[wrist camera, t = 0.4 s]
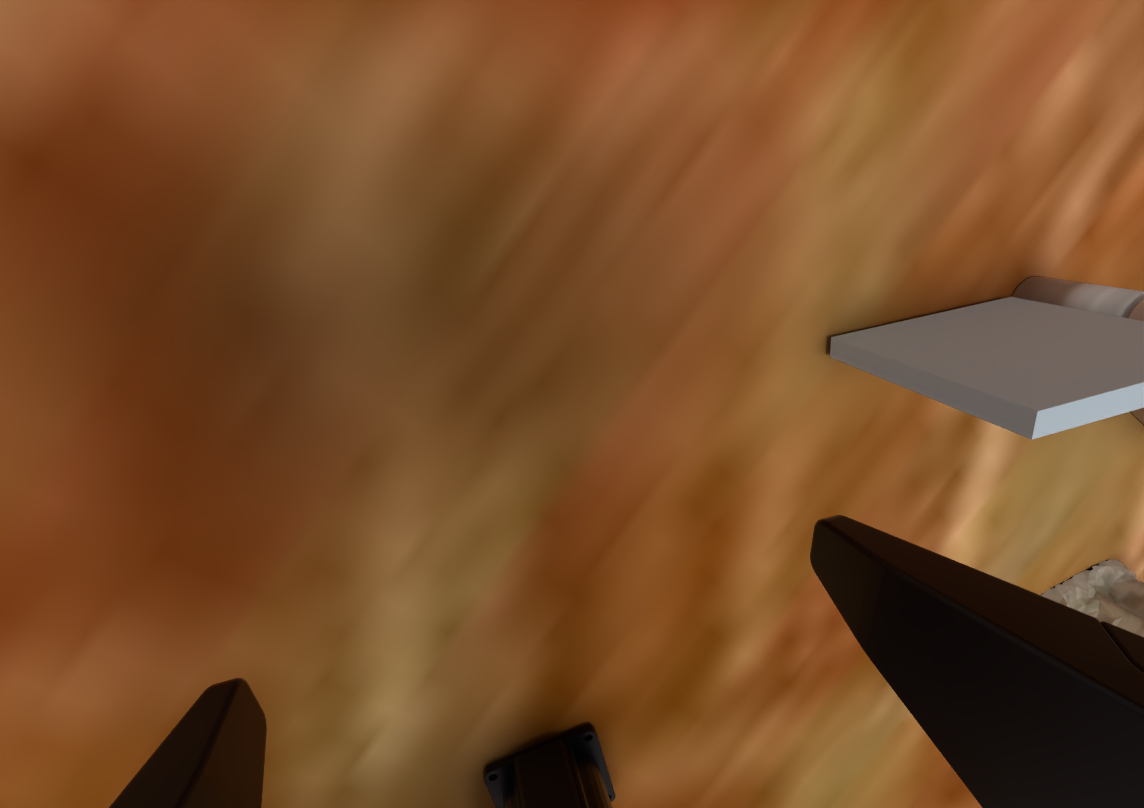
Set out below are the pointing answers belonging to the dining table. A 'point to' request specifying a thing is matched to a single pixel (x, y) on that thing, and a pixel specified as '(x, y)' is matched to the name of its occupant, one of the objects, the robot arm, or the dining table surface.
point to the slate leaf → (1011, 362)
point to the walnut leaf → (1082, 300)
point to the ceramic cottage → (1105, 595)
